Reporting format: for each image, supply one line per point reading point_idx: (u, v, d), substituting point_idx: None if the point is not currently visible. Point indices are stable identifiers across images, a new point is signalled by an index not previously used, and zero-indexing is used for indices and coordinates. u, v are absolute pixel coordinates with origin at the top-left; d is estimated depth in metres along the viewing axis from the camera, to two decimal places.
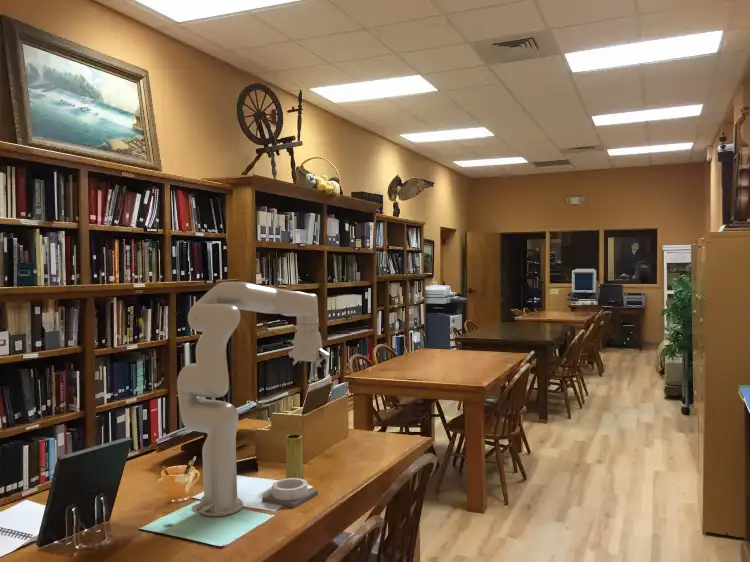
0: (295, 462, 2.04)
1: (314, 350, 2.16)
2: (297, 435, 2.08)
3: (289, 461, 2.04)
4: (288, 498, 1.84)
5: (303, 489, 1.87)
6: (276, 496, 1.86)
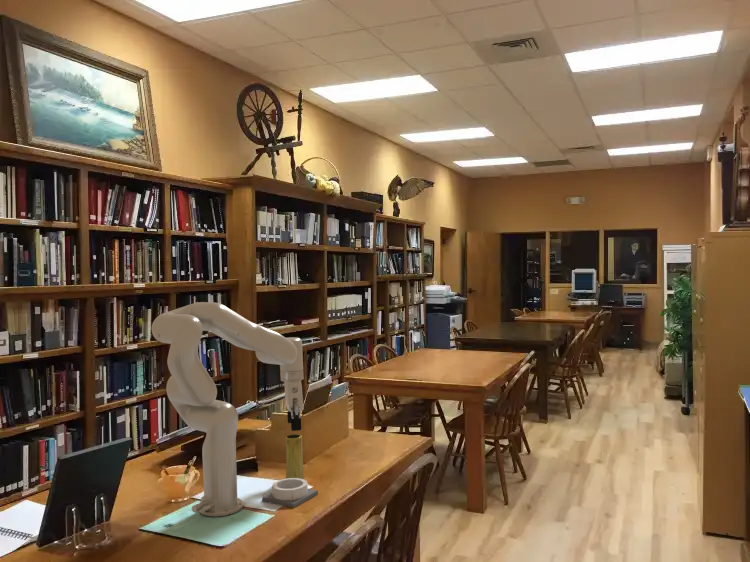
0: (295, 462, 2.04)
1: None
2: (297, 435, 2.08)
3: (289, 461, 2.04)
4: (288, 498, 1.84)
5: (303, 489, 1.87)
6: (276, 496, 1.86)
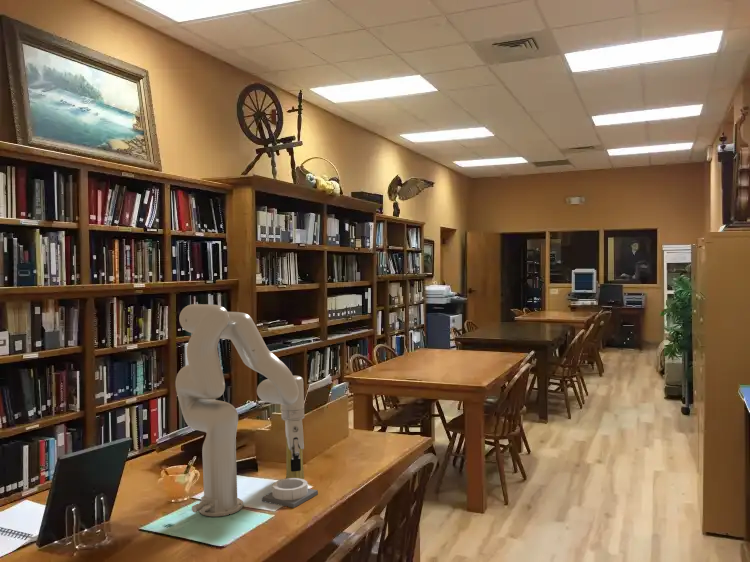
0: None
1: None
2: None
3: (289, 461, 2.04)
4: (288, 498, 1.84)
5: (303, 489, 1.87)
6: (276, 496, 1.86)
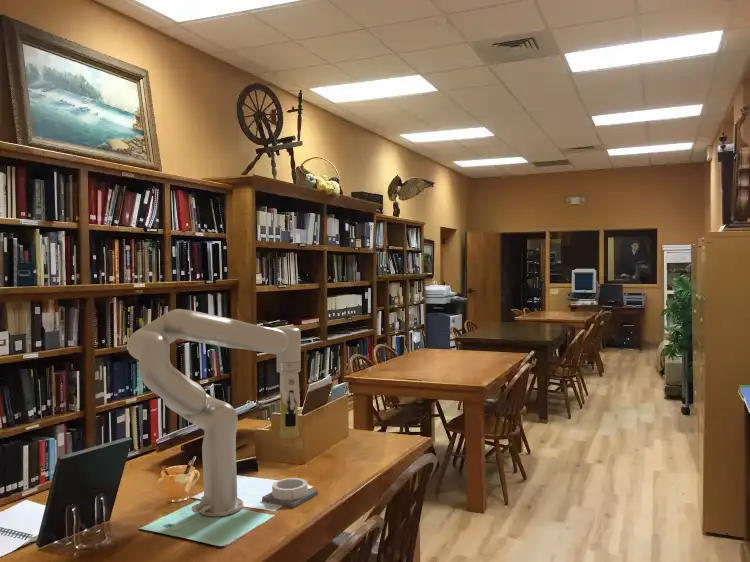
0: None
1: None
2: None
3: (284, 416, 1.94)
4: (288, 498, 1.84)
5: (303, 489, 1.87)
6: (276, 496, 1.86)
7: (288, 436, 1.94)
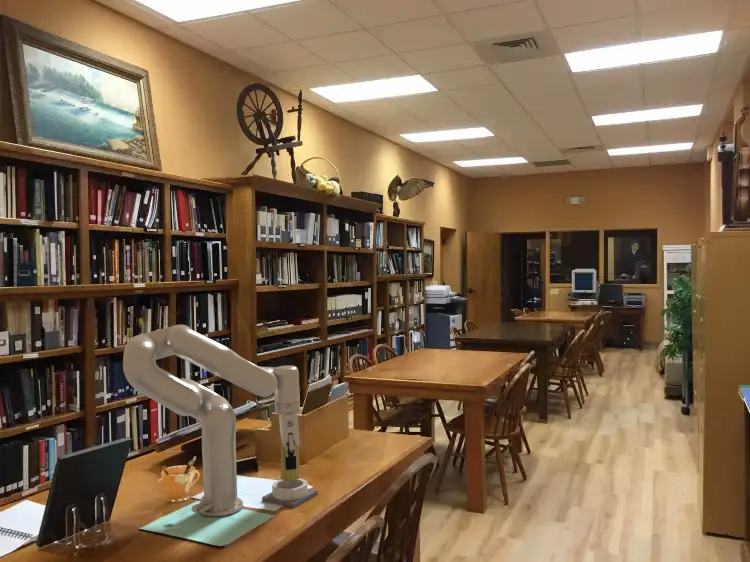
0: None
1: None
2: None
3: (284, 459, 1.87)
4: (288, 498, 1.84)
5: (303, 489, 1.87)
6: (276, 496, 1.86)
7: (289, 479, 1.87)
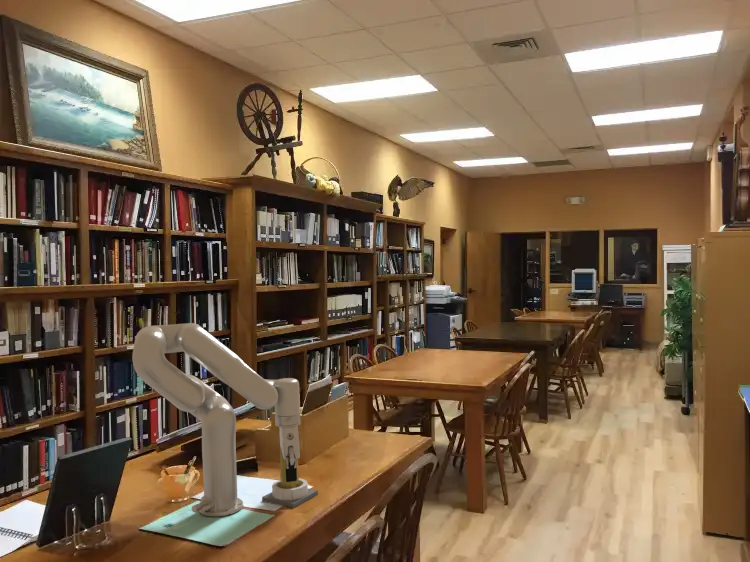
0: None
1: None
2: None
3: (284, 475, 1.87)
4: (288, 498, 1.84)
5: (303, 489, 1.87)
6: (276, 496, 1.86)
7: None
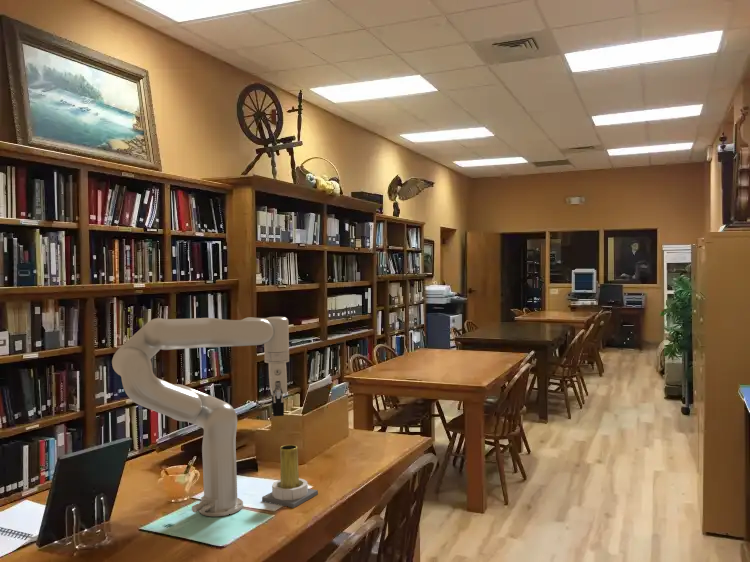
0: (290, 475, 1.87)
1: None
2: (292, 446, 1.91)
3: (284, 475, 1.87)
4: (288, 498, 1.84)
5: (303, 489, 1.87)
6: (276, 496, 1.86)
7: None
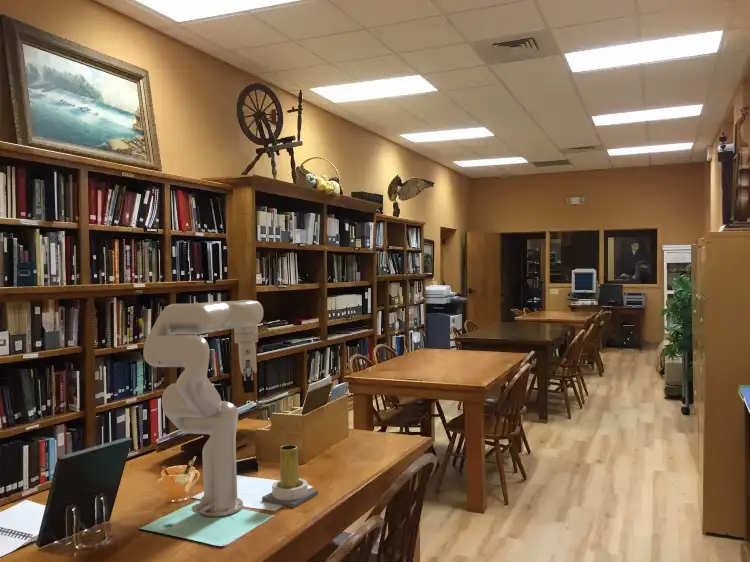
0: (290, 475, 1.87)
1: None
2: (292, 446, 1.91)
3: (284, 475, 1.87)
4: (288, 498, 1.84)
5: (303, 489, 1.87)
6: (276, 496, 1.86)
7: None
